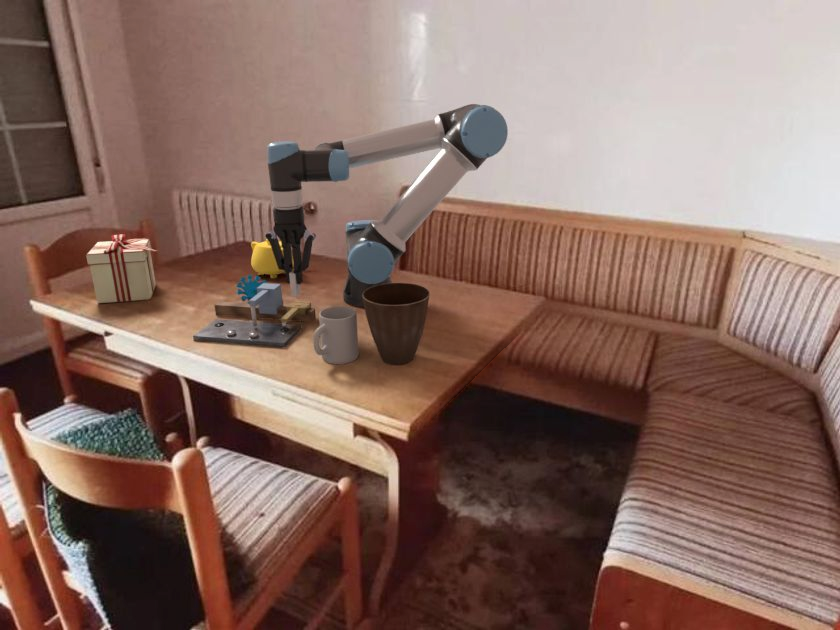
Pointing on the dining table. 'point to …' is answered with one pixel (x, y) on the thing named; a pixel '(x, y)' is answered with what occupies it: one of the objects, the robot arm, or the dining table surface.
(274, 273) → the teapot
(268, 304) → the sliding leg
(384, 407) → the dining table surface
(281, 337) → the hole plate
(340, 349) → the mug
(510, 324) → the dining table surface
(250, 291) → the gear
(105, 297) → the gift box
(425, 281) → the dining table surface
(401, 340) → the plant pot
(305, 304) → the fixed leg
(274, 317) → the beam
